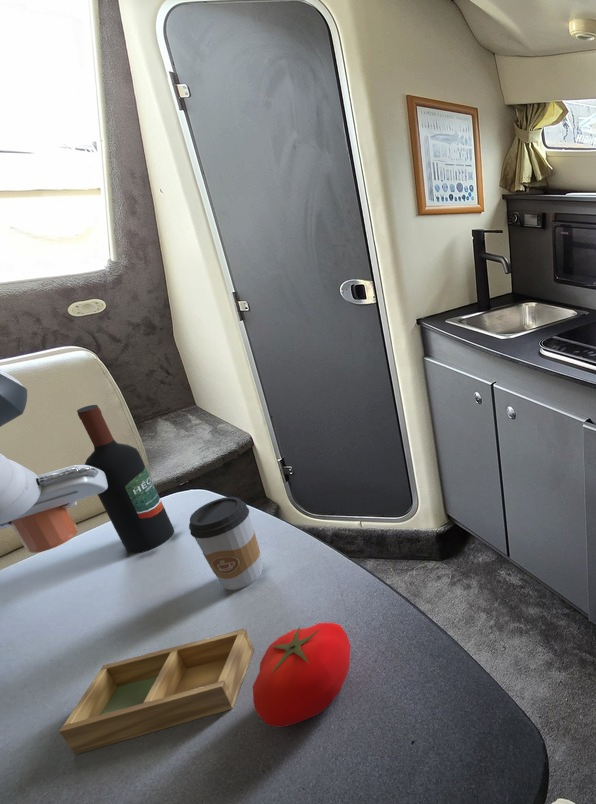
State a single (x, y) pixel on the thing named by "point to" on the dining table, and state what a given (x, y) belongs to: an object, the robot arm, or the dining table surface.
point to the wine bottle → (126, 487)
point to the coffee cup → (228, 541)
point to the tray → (159, 691)
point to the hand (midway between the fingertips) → (39, 512)
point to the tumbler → (45, 529)
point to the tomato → (301, 674)
